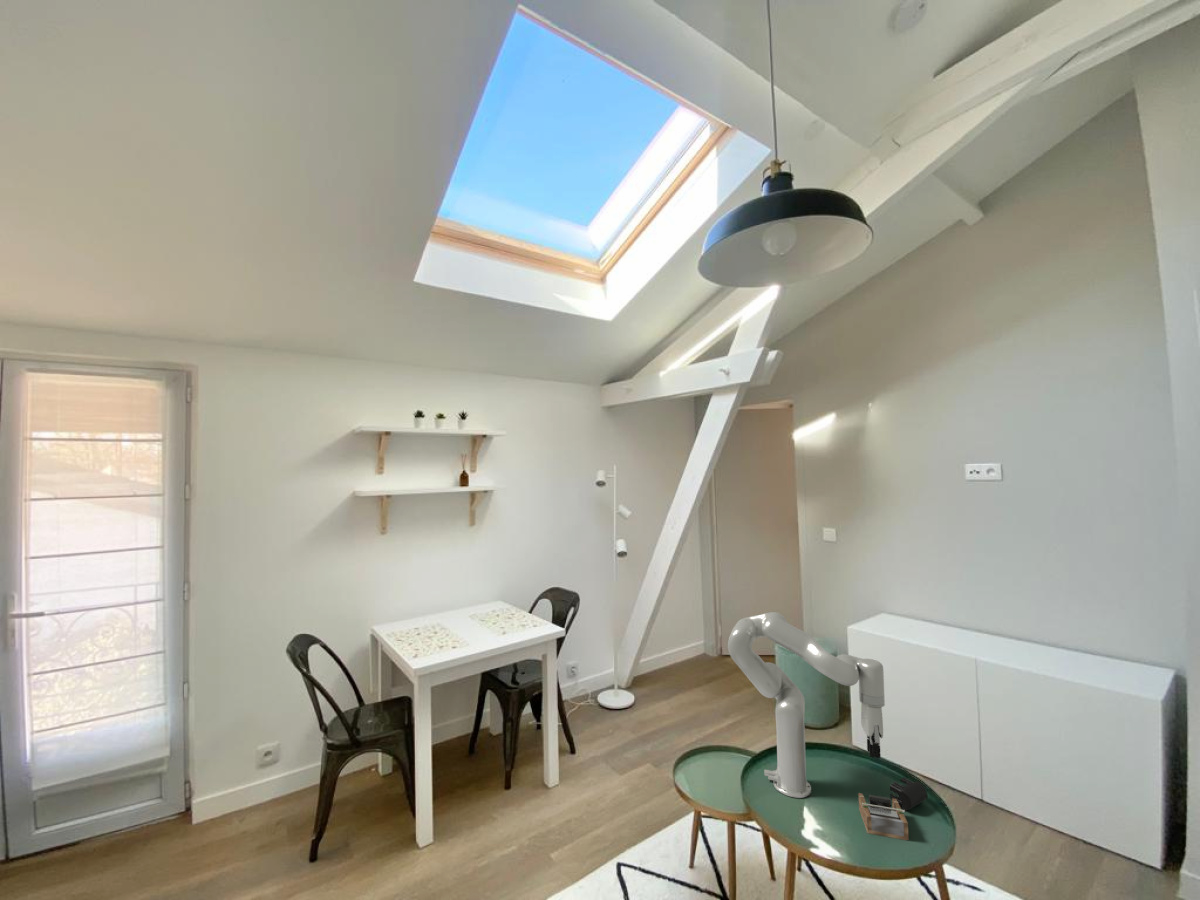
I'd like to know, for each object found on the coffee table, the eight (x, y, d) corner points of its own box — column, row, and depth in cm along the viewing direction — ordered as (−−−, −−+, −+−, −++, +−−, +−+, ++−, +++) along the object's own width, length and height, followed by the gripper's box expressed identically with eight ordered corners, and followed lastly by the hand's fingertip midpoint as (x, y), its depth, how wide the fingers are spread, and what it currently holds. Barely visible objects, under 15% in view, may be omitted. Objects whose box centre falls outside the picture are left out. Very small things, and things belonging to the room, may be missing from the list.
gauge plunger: (863, 821, 155) (863, 804, 156) (859, 809, 161) (858, 793, 161) (906, 829, 152) (906, 811, 152) (900, 816, 158) (900, 799, 158)
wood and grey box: (867, 833, 152) (866, 815, 152) (859, 808, 164) (858, 792, 164) (908, 840, 149) (907, 822, 149) (896, 815, 160) (896, 798, 161)
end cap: (911, 816, 160) (910, 794, 160) (889, 803, 166) (888, 783, 167) (928, 806, 165) (927, 785, 165) (906, 794, 171) (905, 774, 172)
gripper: (854, 687, 176) (856, 740, 174) (865, 707, 160) (867, 765, 159) (878, 690, 173) (880, 744, 172) (890, 710, 158) (893, 769, 157)
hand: (873, 753), depth 166 cm, fingers closed
